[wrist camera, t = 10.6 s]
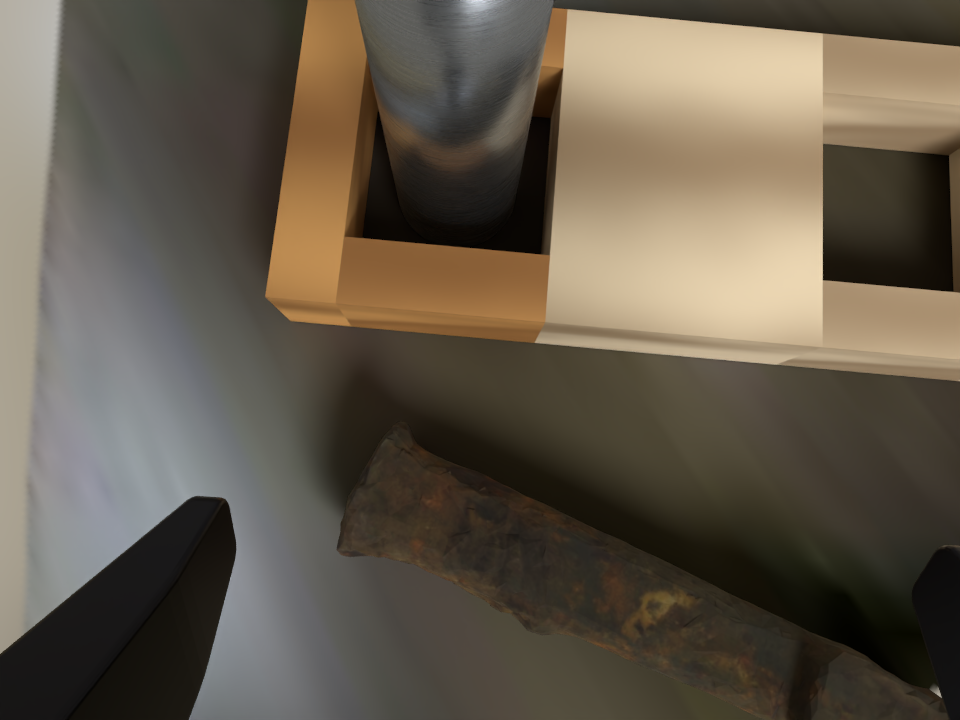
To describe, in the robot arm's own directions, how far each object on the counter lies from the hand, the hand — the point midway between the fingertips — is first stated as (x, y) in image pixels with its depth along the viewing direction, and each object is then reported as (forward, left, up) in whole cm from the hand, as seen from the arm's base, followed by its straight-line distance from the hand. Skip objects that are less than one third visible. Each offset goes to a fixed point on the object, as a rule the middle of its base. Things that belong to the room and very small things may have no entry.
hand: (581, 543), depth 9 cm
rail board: (+10, -5, -13) cm, 18 cm away
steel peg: (+10, +3, -13) cm, 17 cm away
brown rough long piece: (-2, -5, -14) cm, 15 cm away
